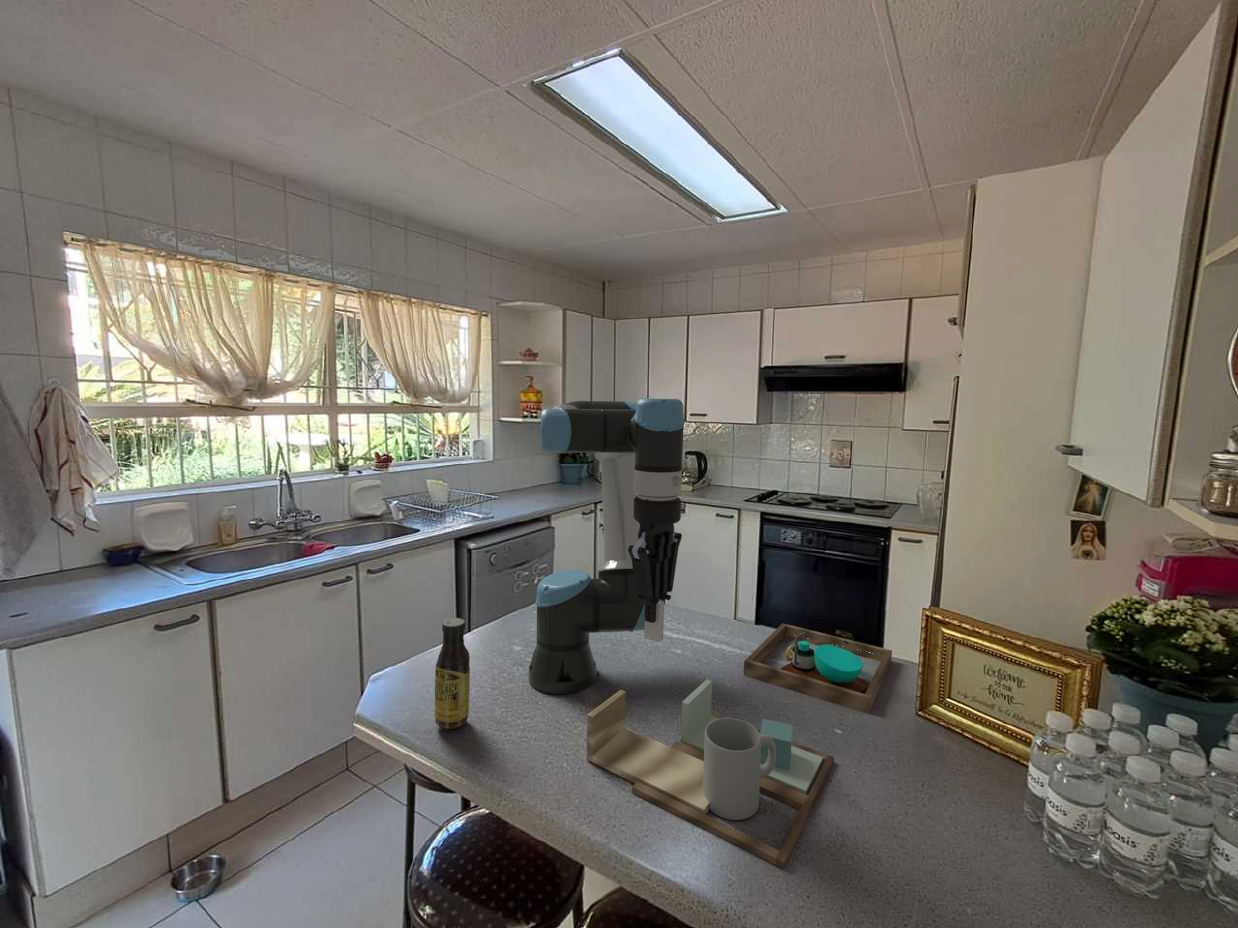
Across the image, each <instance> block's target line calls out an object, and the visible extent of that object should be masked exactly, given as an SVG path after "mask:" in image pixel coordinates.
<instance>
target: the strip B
mask: <svg viewBox="0 0 1238 928" xmlns="http://www.w3.org/2000/svg"><path fill="white" fill-rule="evenodd" d="M712 703H713V680H710V679H709V678H708V679H705V680H704V681H703V682H702V683H701V684H700V685H698V687H697V688H695V689H694V691H692V692H691V693H690V694H689V695H688V696H687V697H685V698H684V700H682V702H681V721H680V723H681V726H680V742H681V743H684V744H686V745H689V746H691V747H693V748H696V749H698V750H701V751H703V752H704V735H705V729H706V727H707V725H708V724H709V723H711V722H712V721H714V720H717V719H719V718H716V717H713V716H711V712H712ZM822 763H823V757H821V756H818V755H815V754H813V753H810V752H807V751H805V750H802V749H799V748H797V747H794V746H791V760H790V770H786V769H781V768H777V767H774V768H773V770H772V772H771V773H770V774H769V775H767V776H765V778H768V779H770V780H773V781H775V782H777V783H780V784H782V785H785V786H787V787H789V788H792V789H794V790H797V791H799V792H801V793H804V794H806V795H808V794H809V792H810V790H811V788H812V786H813V784H814V782H815V780H816V778H817V776H818V774H819V772H820V770H821V768H822V766H823V764H822ZM762 765H764V764H760V766H762Z"/></svg>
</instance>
